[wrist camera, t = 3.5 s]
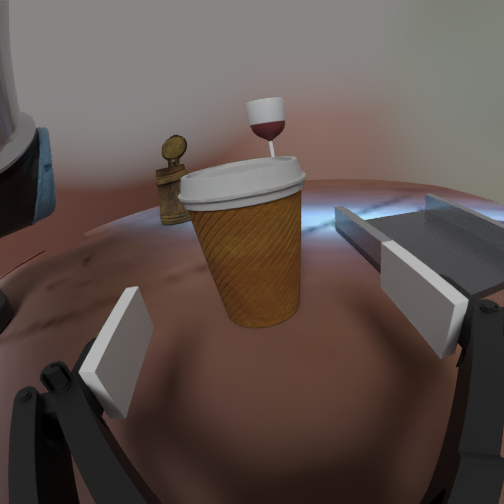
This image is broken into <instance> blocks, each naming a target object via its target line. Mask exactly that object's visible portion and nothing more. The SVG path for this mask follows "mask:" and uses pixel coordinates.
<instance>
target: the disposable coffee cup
mask: <svg viewBox="0 0 504 504" xmlns="http://www.w3.org/2000/svg"><path fill="white" fill-rule="evenodd" d="M305 178H306V174H305V173H304V172H301V168H300V166H299V163H298V161H297V158H296V157H291V156H285V157H284V156H283V157H269V158H260V159H252V160H246V161H239V162H233V163H229V164H224V165H219V166H214V167H210V168H207V169H203V170H200V171H196V172H193V173H190V174H187V175H185V176H183V177H182V178H181V193H180V194H179V195H178V199H179V201H181V202H183V206H184V208H186V209H187V210H188V213H189V215H190V218H191V221H192V224H193V226H194V229H195V232H196V234H197V237H198V240H199V242H200V245H201V248H202V250H203V253H204V256H205V258H206V261H207V263H208V266H209V269H210V271H211V274H212V276H213V279H214V282H215V284H216V286H217V289H218V291H219V294H220V296H221V299H222V302H223V304H224V307H225V309H226V311H227V314H228V317H229V318H230V320H232V321H233V322H234V323H236V324H238V325H241V326H245V327H255V328H257V327H267V326H271V325H275V324H278V323H280V322H283V321H285V320H286V319H288V318H290V317H291V316H292V315H293V314H294V313H295V312H296V311H297V309H298V307H299V291H300V263H301V189H302V188H303V180H304V179H305Z"/></svg>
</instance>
